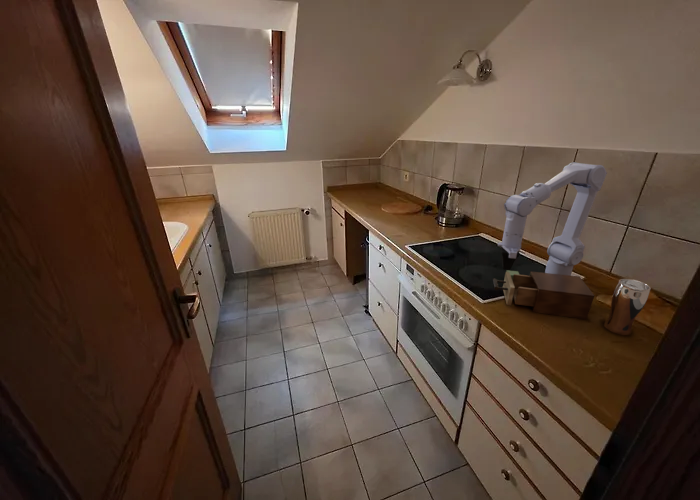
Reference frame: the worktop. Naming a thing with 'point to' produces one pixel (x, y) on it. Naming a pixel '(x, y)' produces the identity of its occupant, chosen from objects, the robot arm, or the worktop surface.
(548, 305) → the cabinet
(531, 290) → the drawer
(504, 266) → the robot arm
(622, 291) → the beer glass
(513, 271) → the block
